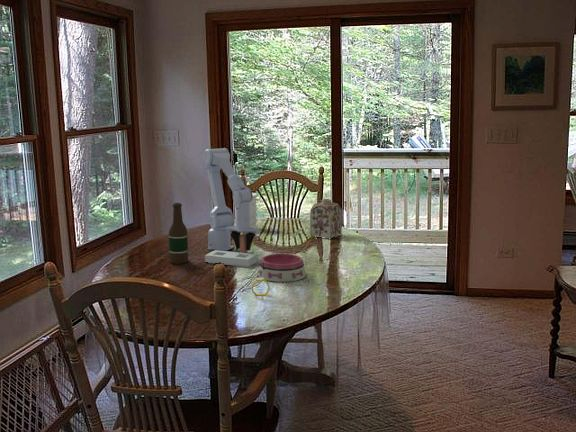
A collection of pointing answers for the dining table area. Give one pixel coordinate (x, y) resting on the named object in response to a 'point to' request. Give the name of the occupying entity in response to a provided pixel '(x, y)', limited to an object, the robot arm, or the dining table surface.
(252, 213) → the decorative container
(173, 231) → the beer bottle
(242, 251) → the peg
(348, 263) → the dining table surface
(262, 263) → the dog bowl
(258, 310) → the dining table surface
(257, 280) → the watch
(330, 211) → the decorative jar
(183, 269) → the dining table surface
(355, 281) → the dining table surface
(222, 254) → the hole block
